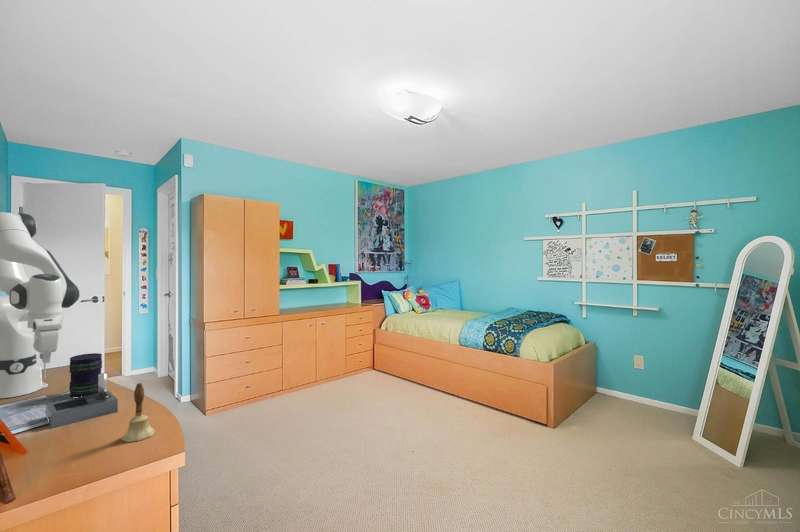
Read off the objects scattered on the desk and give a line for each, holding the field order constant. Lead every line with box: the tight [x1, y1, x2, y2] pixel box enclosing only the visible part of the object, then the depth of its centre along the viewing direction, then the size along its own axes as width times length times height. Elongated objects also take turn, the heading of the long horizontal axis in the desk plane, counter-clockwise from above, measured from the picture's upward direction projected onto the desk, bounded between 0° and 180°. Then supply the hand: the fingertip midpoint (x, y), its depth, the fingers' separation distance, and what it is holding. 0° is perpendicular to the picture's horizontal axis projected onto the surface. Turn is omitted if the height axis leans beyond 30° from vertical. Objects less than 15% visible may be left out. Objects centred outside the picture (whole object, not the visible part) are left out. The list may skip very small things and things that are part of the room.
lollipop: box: [33, 339, 47, 380], centre depth 127 cm, size 6×6×15 cm
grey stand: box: [45, 372, 119, 429], centre depth 126 cm, size 17×12×13 cm
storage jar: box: [68, 352, 103, 398], centre depth 145 cm, size 10×10×15 cm
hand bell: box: [121, 382, 156, 443], centre depth 112 cm, size 8×8×16 cm
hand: (44, 360), depth 128 cm, fingers closed on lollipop, 5 cm apart
